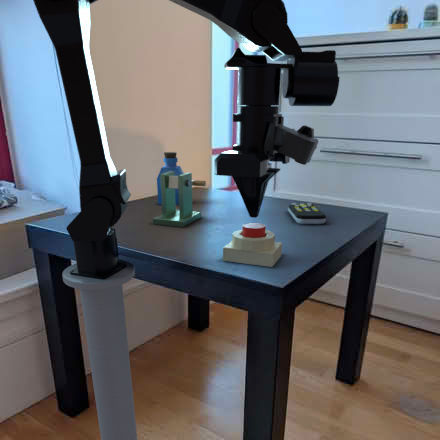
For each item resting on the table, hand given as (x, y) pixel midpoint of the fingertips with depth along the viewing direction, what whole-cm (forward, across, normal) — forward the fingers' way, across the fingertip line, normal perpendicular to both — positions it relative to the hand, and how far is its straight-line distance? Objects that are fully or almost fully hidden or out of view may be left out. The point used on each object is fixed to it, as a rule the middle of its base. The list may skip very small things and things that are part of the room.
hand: (254, 217), depth 64 cm
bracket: (+7, +18, +22) cm, 29 cm away
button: (+3, 0, 0) cm, 3 cm away
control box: (+7, 0, 0) cm, 7 cm away
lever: (0, +21, +22) cm, 30 cm away
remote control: (+7, +30, -3) cm, 31 cm away
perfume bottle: (+7, +34, +32) cm, 47 cm away
